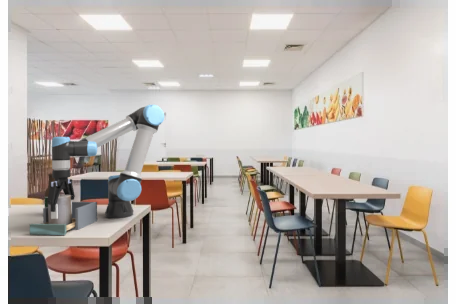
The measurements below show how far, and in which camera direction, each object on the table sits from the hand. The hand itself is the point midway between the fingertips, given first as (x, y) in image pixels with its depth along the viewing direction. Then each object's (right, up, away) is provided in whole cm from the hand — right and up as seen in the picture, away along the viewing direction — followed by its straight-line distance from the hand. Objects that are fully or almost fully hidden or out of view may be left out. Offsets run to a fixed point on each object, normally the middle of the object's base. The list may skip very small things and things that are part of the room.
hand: (61, 215), depth 141 cm
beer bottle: (-23, -6, +31) cm, 40 cm away
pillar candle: (-1, -4, 0) cm, 4 cm away
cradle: (0, -6, +8) cm, 10 cm away
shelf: (0, -6, -1) cm, 6 cm away
